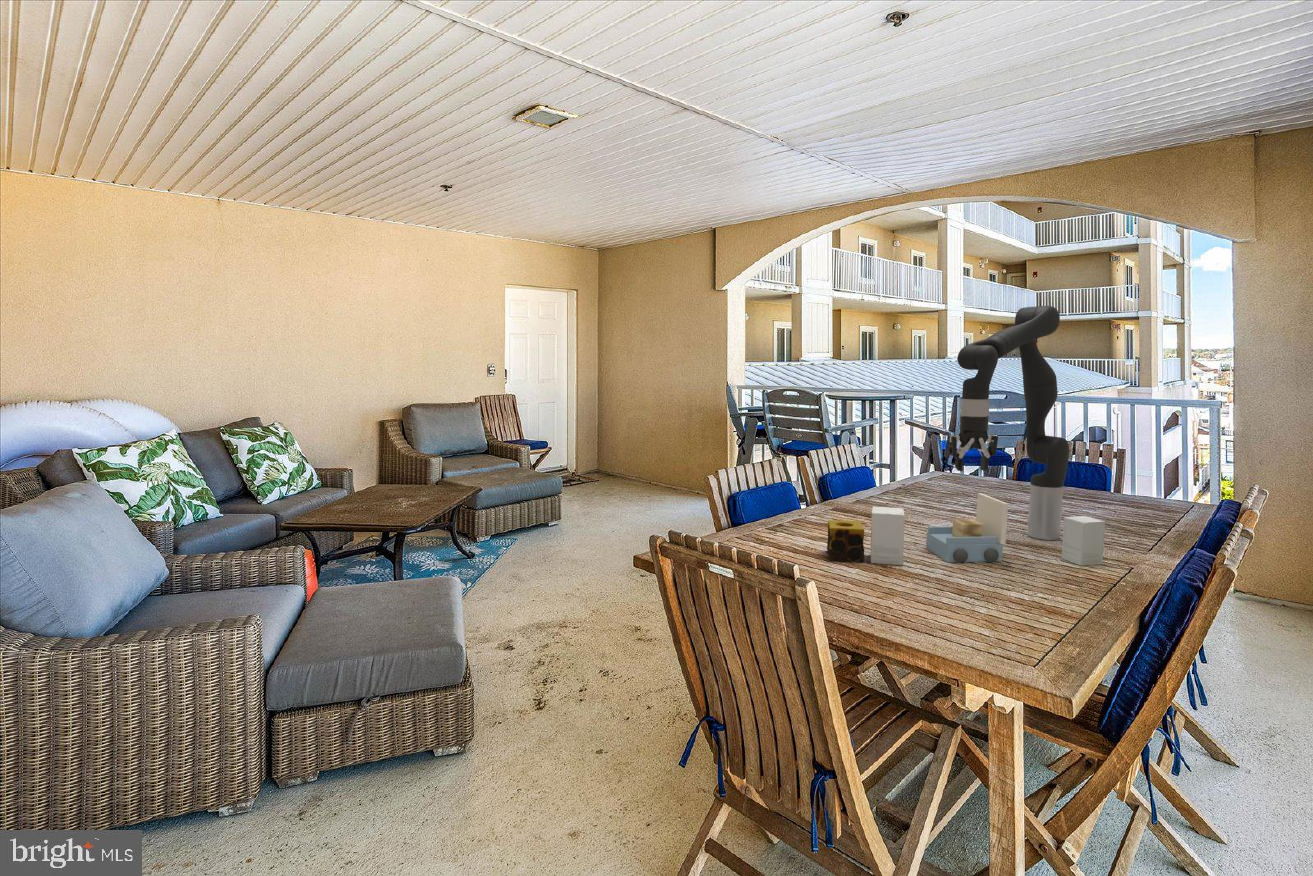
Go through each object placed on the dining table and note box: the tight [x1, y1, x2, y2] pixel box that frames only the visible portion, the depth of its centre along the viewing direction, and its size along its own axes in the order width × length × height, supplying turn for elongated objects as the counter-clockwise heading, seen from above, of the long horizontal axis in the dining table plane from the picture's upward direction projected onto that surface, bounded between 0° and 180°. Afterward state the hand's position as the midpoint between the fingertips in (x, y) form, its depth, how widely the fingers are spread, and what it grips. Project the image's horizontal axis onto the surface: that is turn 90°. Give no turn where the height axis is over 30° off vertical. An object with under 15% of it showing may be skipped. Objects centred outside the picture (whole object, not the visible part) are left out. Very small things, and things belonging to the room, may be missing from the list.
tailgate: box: [975, 492, 1009, 545], centre depth 195 cm, size 1×14×12 cm, turn 2°
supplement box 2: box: [1061, 515, 1106, 567], centre depth 189 cm, size 7×7×13 cm
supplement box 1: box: [870, 506, 906, 566], centre depth 191 cm, size 9×9×15 cm
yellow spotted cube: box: [826, 519, 865, 563], centre depth 194 cm, size 10×10×10 cm
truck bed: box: [925, 525, 1004, 564], centre depth 196 cm, size 16×16×7 cm
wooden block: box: [952, 518, 983, 537], centre depth 196 cm, size 6×6×5 cm
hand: (971, 470), depth 193 cm, fingers open, 6 cm apart
